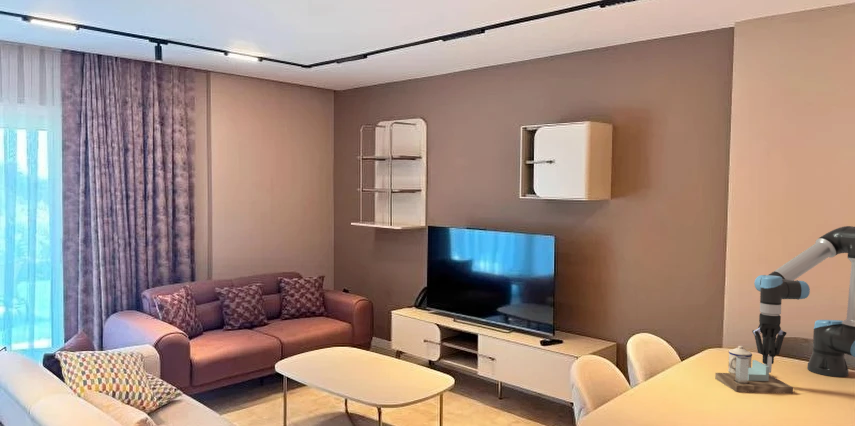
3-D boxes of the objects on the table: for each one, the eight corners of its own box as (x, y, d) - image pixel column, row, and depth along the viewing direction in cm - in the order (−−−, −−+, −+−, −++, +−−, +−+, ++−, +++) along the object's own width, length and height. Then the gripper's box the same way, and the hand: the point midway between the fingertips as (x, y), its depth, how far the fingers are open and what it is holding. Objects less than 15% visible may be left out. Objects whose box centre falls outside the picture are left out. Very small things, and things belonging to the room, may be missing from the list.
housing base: (767, 380, 253) (768, 370, 252) (792, 393, 236) (793, 383, 235) (715, 378, 252) (715, 369, 252) (736, 392, 235) (736, 381, 235)
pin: (742, 387, 242) (744, 355, 242) (747, 389, 239) (748, 357, 238) (734, 386, 242) (736, 355, 242) (739, 389, 239) (740, 357, 238)
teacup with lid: (735, 368, 269) (736, 342, 268) (755, 374, 261) (757, 347, 261) (719, 372, 262) (720, 345, 262) (739, 378, 254) (741, 350, 254)
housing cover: (754, 373, 252) (755, 360, 252) (768, 381, 242) (769, 366, 242) (735, 373, 252) (736, 359, 252) (748, 380, 242) (749, 366, 242)
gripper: (780, 312, 250) (778, 369, 251) (749, 311, 250) (746, 368, 251) (791, 316, 242) (789, 374, 243) (759, 315, 242) (756, 374, 243)
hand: (767, 371), depth 247 cm, fingers closed
